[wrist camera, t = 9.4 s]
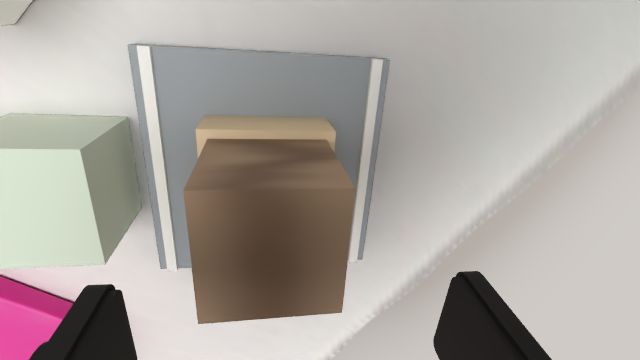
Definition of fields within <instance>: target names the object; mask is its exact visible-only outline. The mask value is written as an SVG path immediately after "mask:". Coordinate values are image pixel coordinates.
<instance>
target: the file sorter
mask: <svg viewBox="0 0 640 360" xmlns="http://www.w3.org/2000/svg"><path fill="white" fill-rule="evenodd" d="M73 304H74V303H71V302H68V301H65V300H63V299H60V298H57V297H55V296H52V295H49V294H46V293H44V292H41V291H38V290H36V289H33V288H30V287H28V286H25V285H22V284H19V283H17V282H14V281H11V280H9V279H6V278H3V277H1V276H0V360H29V358H30V357H31V356H32V354H33V353H34V351H35V350H36V349H37V348H38V347H39V346H40V345H41V344H43V343H44V342H48V341H49V339H50V338H51V336H52V335H53V333H54V332H55V330H56V329H57V327H58V326H59V324H60V323H61V321H62V320H63V318H64V317H65V316H66V314H67V313H68V311H69V310H70V308H71V307H72V305H73Z"/></svg>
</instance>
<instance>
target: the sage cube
mask: <svg viewBox="0 0 640 360" xmlns="http://www.w3.org/2000/svg"><path fill="white" fill-rule="evenodd" d="M141 208H142V206H141V200H140V193H139V187H138V180H137V174H136V167H135V161H134V154H133V148H132V141H131V135H130V128H129V122H128V117H120V116H86V115H52V114H18V113H9V114H7V115H4V116H1V117H0V269H9V268H34V267H58V266H83V265H105V264H106V263H107V261H108V259H109V258H110V256H111V255H112V253H113V252H114V250H115V249H116V247H117V245H118V244H119V242H120V241H121V239H122V238H123V236H124V235H125V233H126V231H127V230H128V228H129V227H130V225H131V224H132V222H133V221H134V219H135V218H136V216H137V214H138V213H139V211H140V210H141Z"/></svg>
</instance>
